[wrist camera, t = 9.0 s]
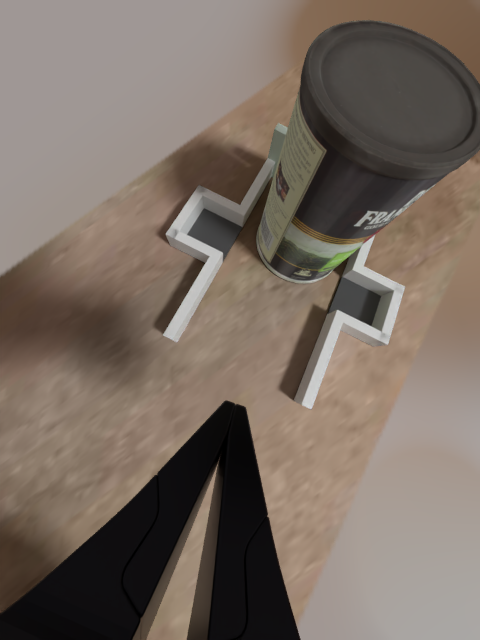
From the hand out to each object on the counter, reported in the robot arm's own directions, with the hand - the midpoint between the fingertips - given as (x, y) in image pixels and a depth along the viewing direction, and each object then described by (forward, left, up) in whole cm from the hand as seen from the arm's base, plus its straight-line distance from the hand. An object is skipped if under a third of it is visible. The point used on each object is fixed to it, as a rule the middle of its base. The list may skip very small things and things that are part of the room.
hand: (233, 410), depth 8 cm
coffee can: (+15, -10, -12) cm, 22 cm away
